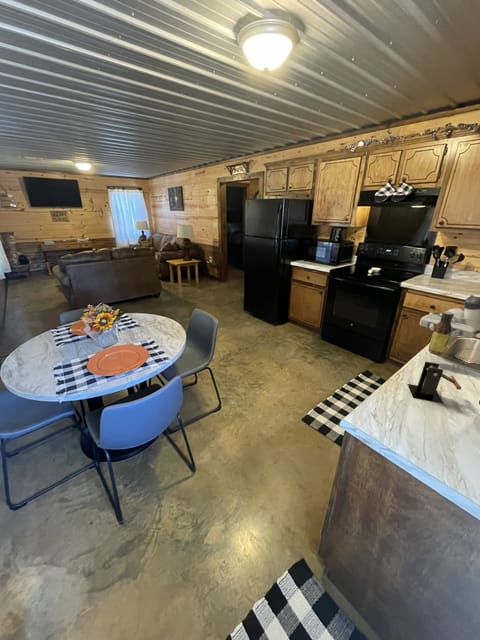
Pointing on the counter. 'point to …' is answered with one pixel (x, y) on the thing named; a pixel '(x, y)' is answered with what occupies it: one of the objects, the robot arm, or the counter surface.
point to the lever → (448, 379)
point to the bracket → (427, 384)
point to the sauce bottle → (441, 334)
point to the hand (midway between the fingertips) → (441, 331)
